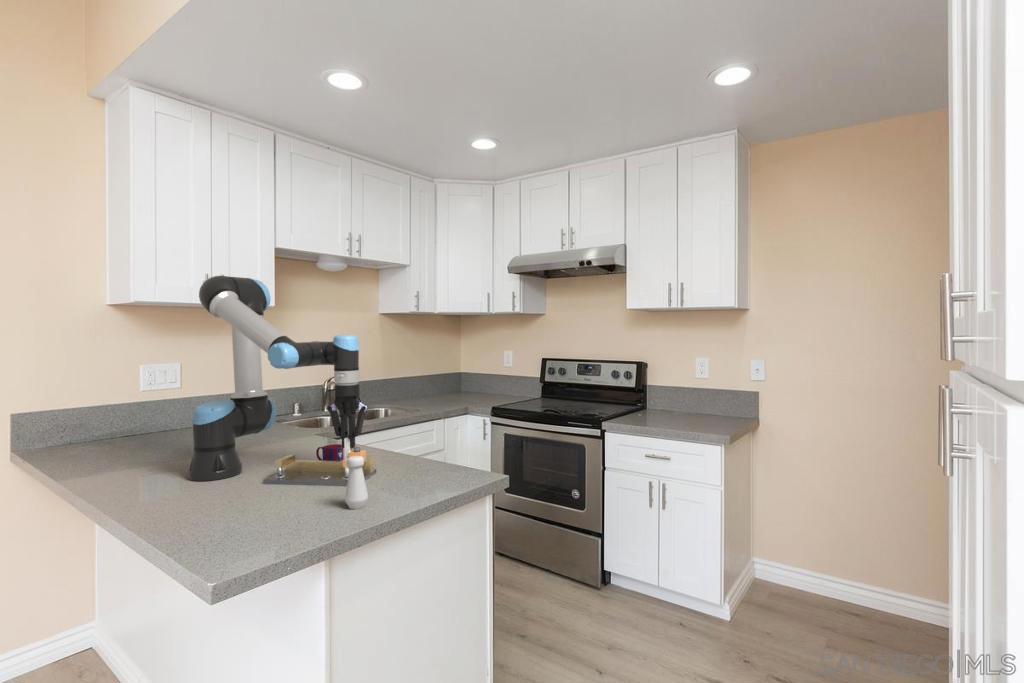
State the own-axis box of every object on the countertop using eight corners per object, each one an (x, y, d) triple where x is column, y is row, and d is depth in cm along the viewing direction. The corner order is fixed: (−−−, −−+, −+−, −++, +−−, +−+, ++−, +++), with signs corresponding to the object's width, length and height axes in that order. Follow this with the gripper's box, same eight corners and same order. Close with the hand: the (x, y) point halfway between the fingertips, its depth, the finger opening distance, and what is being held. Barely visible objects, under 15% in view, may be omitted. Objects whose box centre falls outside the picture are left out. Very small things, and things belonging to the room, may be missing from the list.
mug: (333, 469, 169) (332, 449, 169) (311, 466, 173) (310, 446, 173) (348, 464, 175) (347, 445, 175) (326, 462, 179) (325, 442, 179)
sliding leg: (340, 476, 155) (339, 453, 154) (354, 468, 164) (353, 446, 164) (352, 477, 154) (352, 453, 154) (366, 468, 164) (365, 446, 163)
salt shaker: (360, 501, 137) (358, 452, 137) (372, 505, 133) (371, 456, 133) (340, 507, 133) (339, 457, 132) (353, 512, 129) (351, 460, 129)
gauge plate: (263, 483, 155) (263, 479, 154) (289, 470, 168) (289, 466, 168) (357, 486, 150) (357, 481, 150) (376, 472, 164) (376, 468, 164)
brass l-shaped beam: (272, 476, 158) (272, 460, 158) (289, 468, 167) (289, 453, 166) (362, 478, 154) (361, 462, 154) (374, 470, 163) (373, 454, 162)
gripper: (321, 385, 159) (323, 460, 159) (361, 385, 157) (363, 461, 157) (333, 382, 166) (335, 454, 167) (371, 382, 164) (373, 455, 165)
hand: (348, 458), depth 162 cm, fingers closed
